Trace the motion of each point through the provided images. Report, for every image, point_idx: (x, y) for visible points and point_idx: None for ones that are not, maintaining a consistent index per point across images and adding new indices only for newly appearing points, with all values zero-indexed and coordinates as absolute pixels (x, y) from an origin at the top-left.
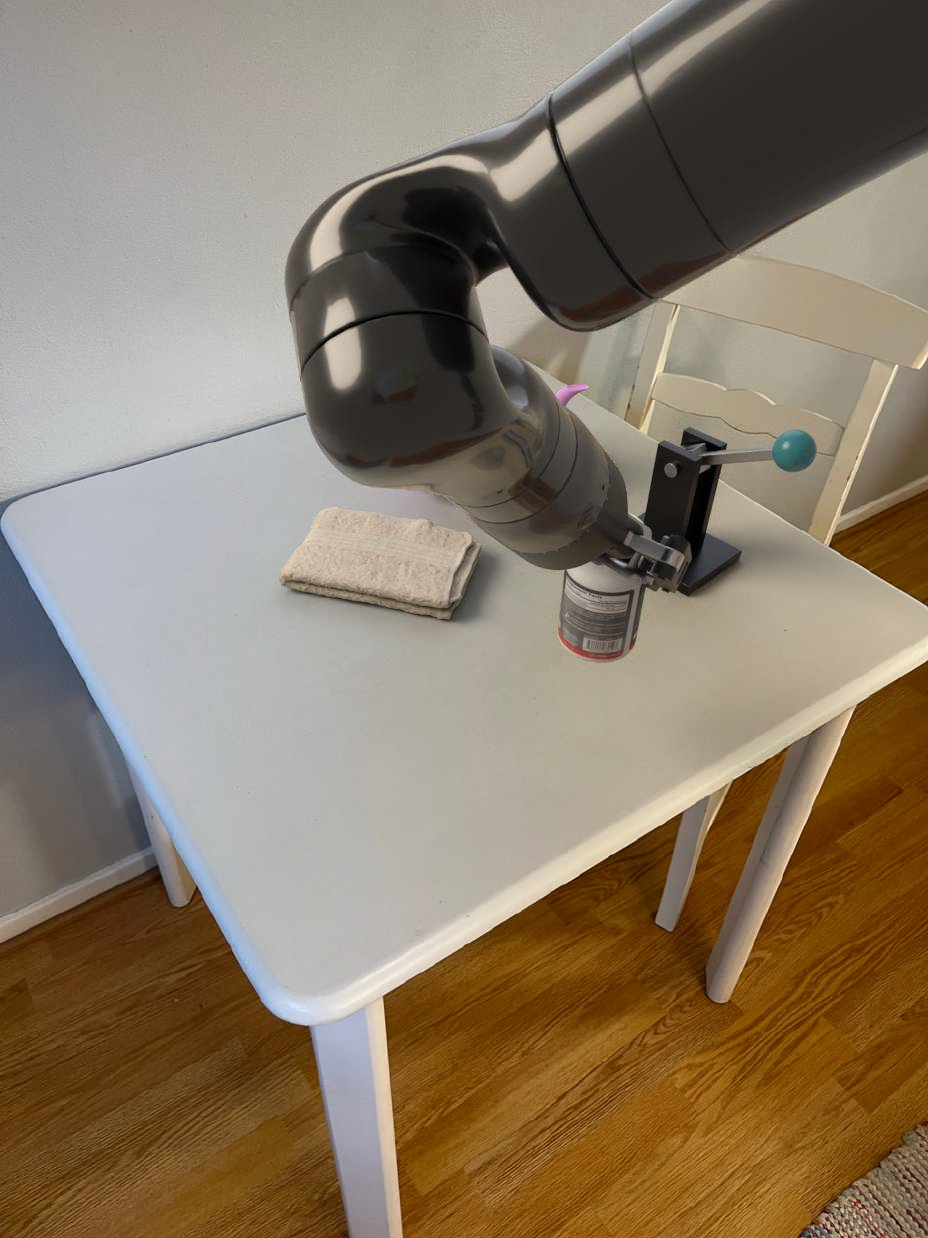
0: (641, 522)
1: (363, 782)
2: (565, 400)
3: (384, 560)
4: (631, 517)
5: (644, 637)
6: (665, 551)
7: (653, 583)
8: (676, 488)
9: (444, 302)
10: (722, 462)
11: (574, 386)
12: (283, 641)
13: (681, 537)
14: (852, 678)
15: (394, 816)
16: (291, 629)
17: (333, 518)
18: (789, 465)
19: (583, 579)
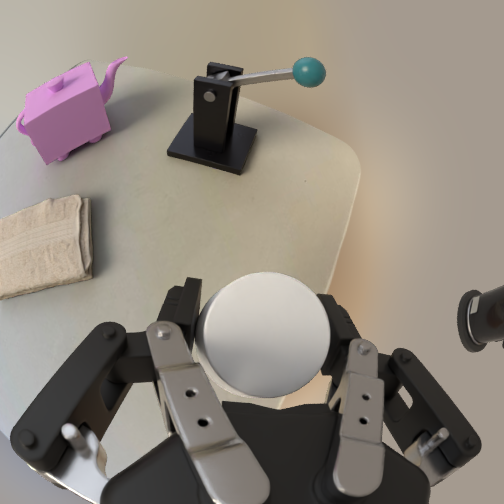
0: (383, 404)
1: (123, 444)
2: (114, 70)
3: (34, 254)
4: (380, 431)
5: (228, 225)
6: (451, 471)
7: None
8: (215, 107)
9: None
10: (248, 83)
11: (118, 60)
12: (19, 347)
13: (475, 444)
14: (350, 205)
15: None
16: (17, 334)
17: (1, 230)
18: (312, 84)
19: (246, 396)
